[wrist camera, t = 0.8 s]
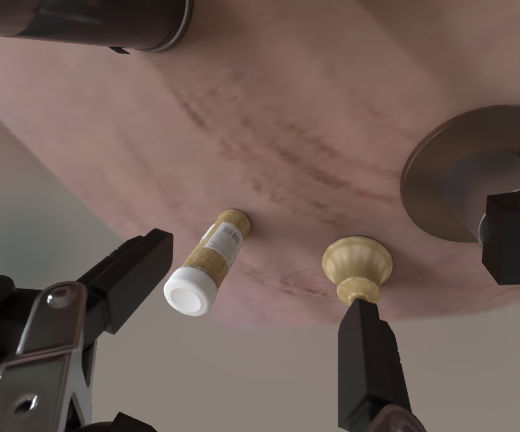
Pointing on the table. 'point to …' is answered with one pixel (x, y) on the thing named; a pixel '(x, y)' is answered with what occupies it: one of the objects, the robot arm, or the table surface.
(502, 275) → the black-lidded handled container
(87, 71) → the table surface
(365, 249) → the hand bell
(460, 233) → the disc
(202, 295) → the sprinkles bottle
